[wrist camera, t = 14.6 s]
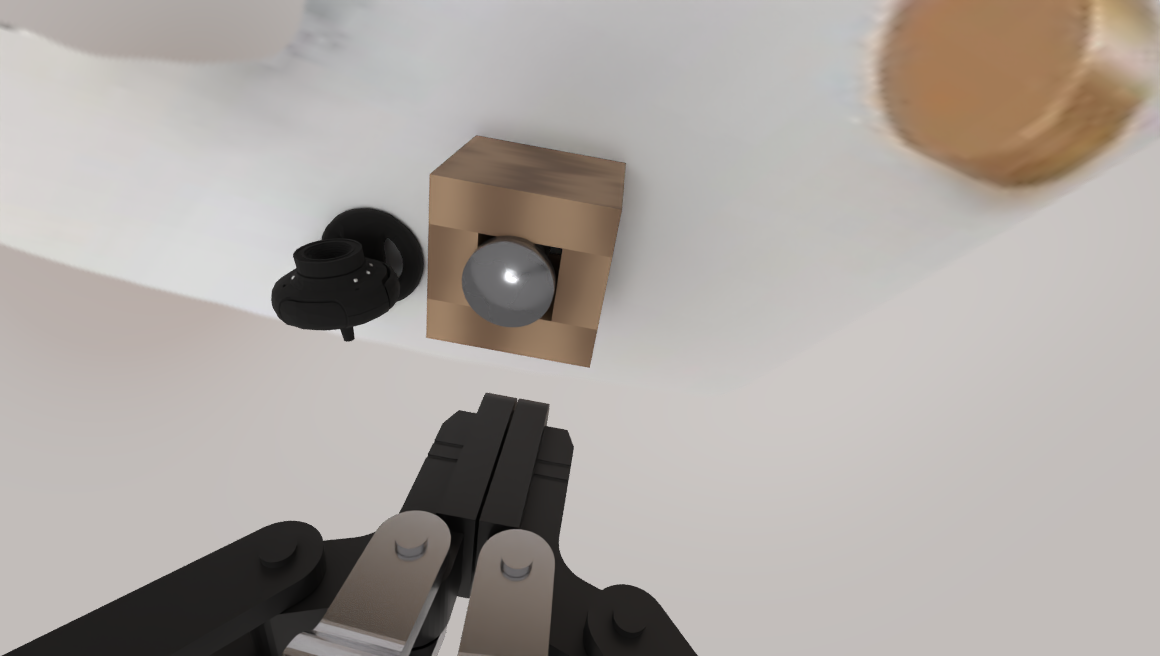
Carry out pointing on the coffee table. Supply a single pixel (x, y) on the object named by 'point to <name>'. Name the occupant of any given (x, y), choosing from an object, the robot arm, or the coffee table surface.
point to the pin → (509, 281)
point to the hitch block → (534, 212)
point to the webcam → (348, 274)
